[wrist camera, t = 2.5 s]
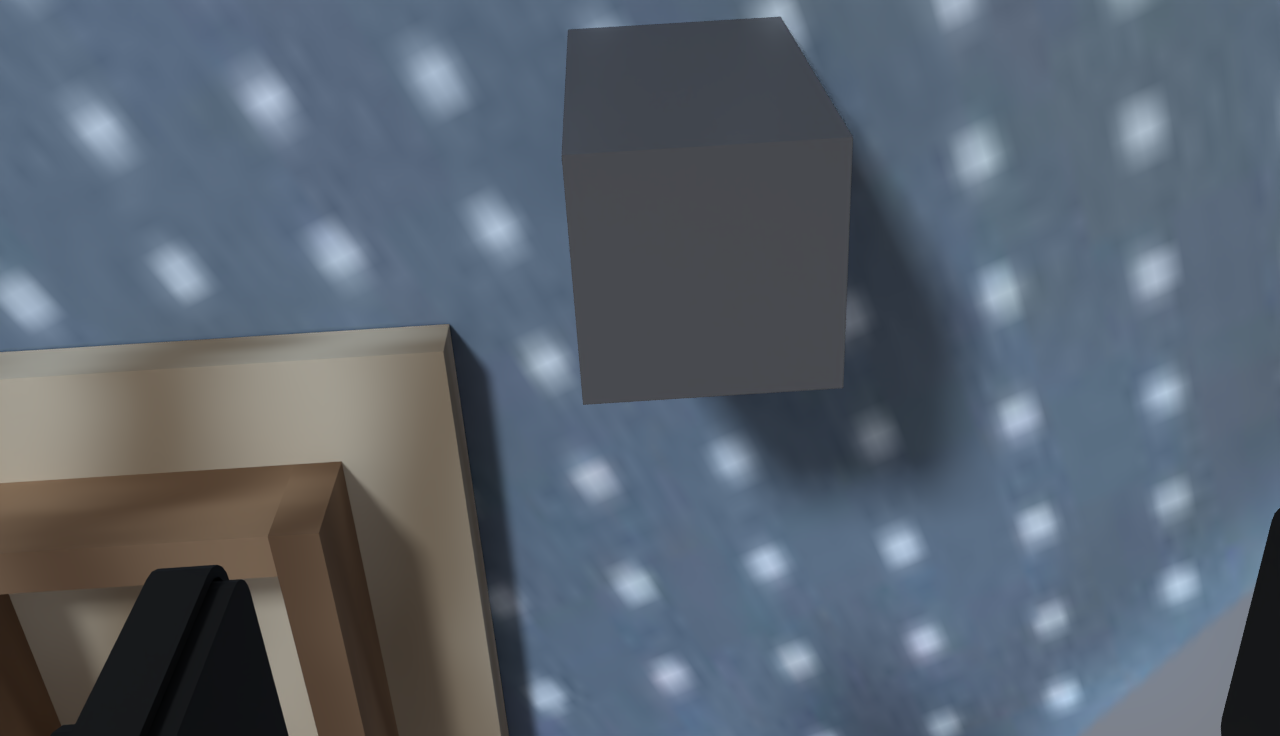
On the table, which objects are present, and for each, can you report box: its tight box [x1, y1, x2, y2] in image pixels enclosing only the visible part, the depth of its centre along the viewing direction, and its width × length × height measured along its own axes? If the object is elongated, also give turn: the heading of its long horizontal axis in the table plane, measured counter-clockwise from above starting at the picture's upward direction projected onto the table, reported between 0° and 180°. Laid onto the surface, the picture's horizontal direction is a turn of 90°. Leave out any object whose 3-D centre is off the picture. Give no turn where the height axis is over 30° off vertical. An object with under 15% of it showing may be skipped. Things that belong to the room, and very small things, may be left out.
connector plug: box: [562, 17, 853, 405], centre depth 20 cm, size 4×4×7 cm
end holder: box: [0, 324, 509, 736], centre depth 27 cm, size 14×14×4 cm
